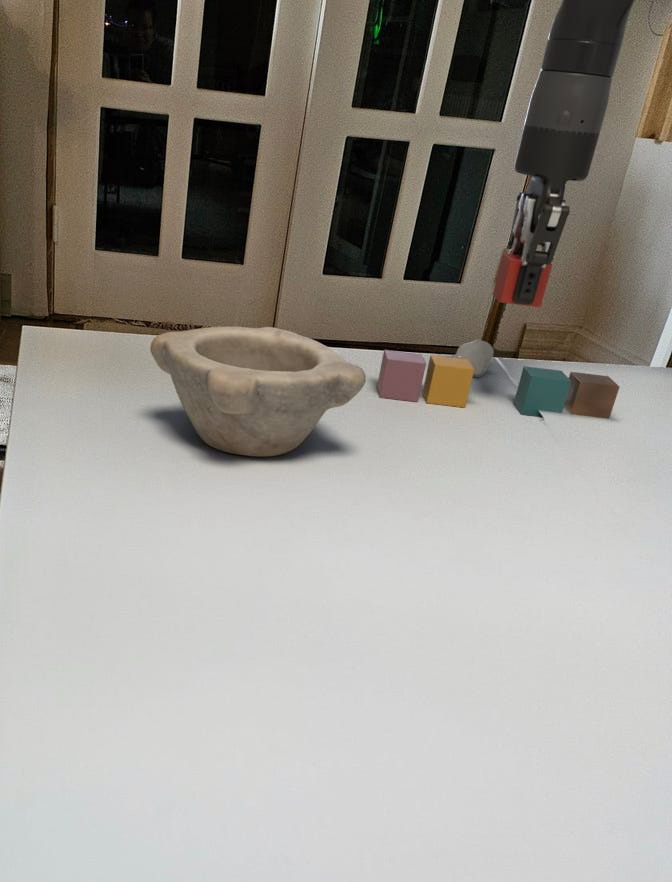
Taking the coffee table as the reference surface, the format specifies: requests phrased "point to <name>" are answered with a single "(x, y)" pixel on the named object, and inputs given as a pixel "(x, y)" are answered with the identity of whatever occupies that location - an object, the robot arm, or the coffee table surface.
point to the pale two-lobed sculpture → (476, 355)
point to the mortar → (255, 385)
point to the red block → (509, 277)
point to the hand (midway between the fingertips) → (517, 297)
